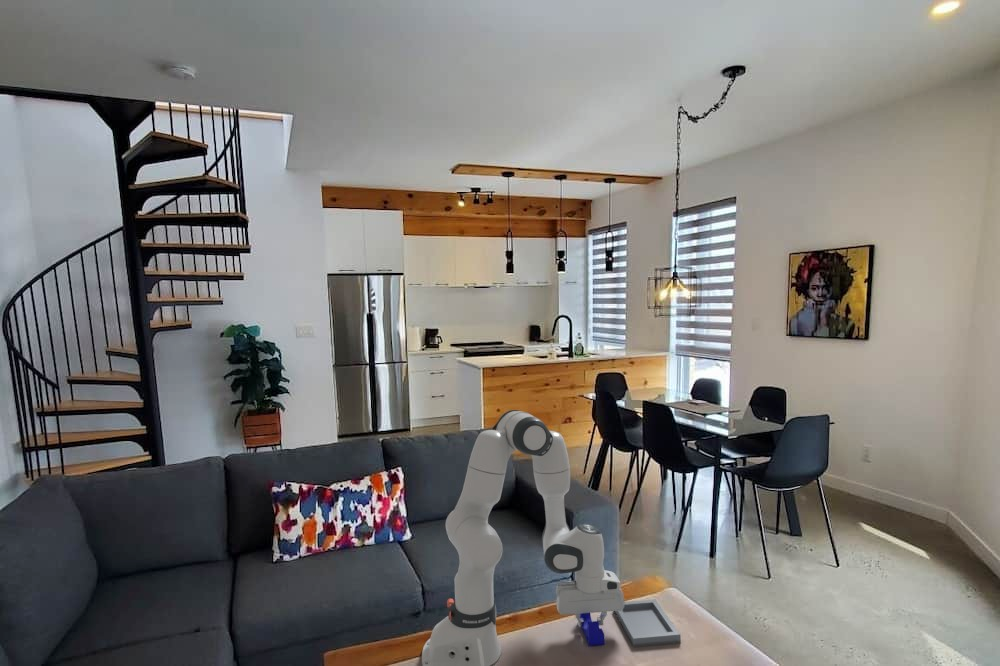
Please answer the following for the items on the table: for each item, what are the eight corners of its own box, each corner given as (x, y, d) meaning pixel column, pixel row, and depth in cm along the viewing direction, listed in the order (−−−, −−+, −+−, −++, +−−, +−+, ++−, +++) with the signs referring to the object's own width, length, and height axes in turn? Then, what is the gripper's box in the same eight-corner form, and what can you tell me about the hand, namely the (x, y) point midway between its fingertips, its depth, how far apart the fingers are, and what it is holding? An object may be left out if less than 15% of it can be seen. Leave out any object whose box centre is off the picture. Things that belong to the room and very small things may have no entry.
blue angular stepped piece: (604, 644, 141) (604, 623, 141) (589, 645, 140) (588, 625, 140) (593, 619, 153) (592, 600, 152) (579, 620, 152) (578, 601, 152)
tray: (633, 647, 140) (633, 638, 139) (613, 610, 157) (613, 602, 157) (680, 642, 141) (680, 634, 141) (655, 607, 159) (655, 599, 159)
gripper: (557, 587, 143) (558, 634, 143) (625, 583, 144) (626, 629, 145) (553, 576, 149) (554, 621, 149) (618, 572, 151) (619, 616, 151)
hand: (590, 625), depth 147 cm, fingers closed on blue angular stepped piece, 4 cm apart
